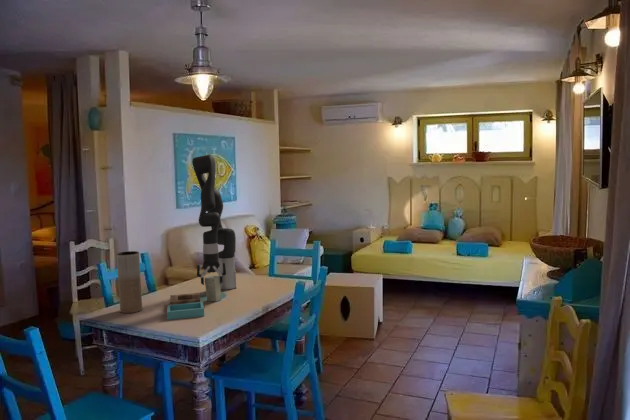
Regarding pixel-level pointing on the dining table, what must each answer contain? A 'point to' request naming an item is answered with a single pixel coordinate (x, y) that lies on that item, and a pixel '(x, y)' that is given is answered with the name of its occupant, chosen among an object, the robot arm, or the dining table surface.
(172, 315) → the tray
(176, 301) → the wooden square frame
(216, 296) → the skincare box
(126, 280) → the vase
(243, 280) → the dining table surface
